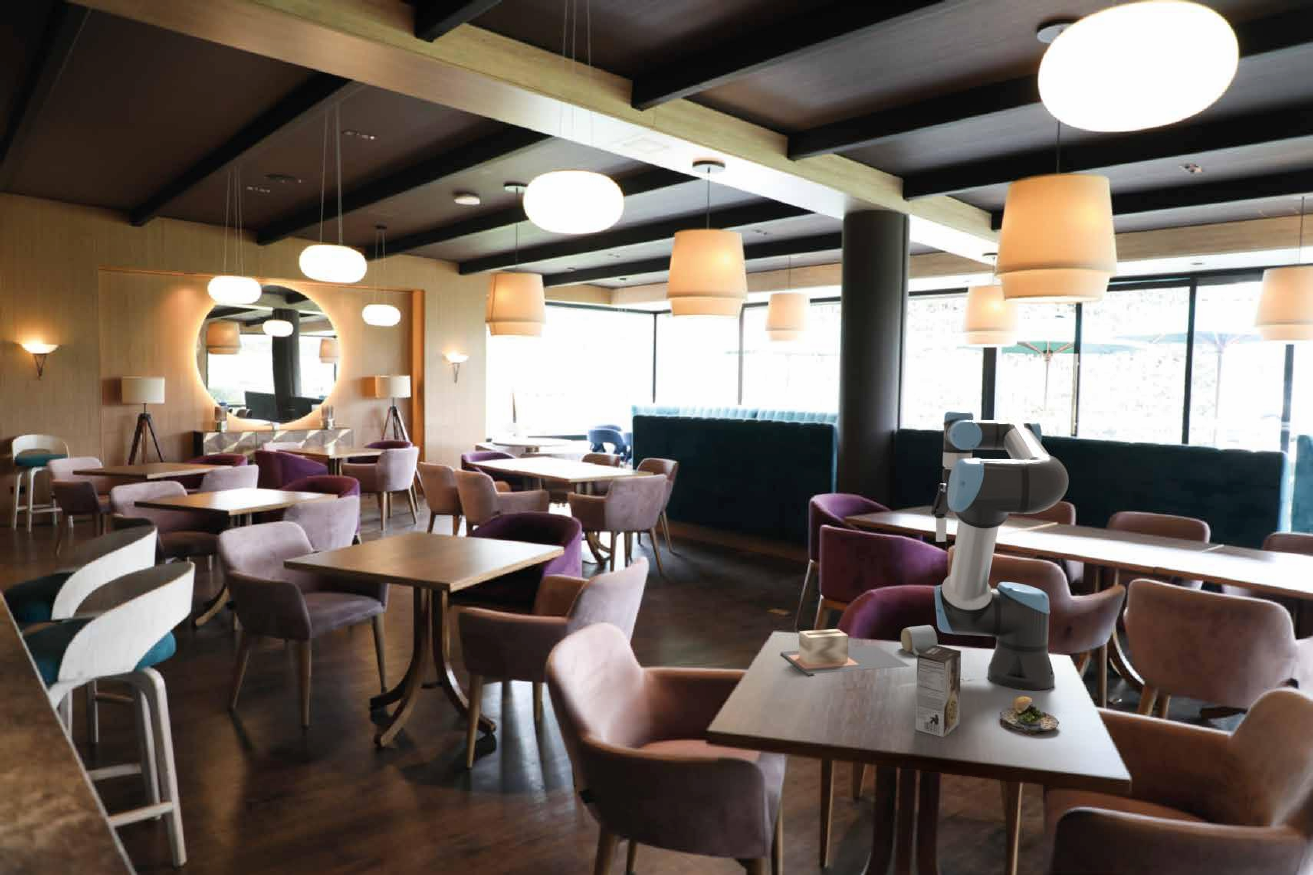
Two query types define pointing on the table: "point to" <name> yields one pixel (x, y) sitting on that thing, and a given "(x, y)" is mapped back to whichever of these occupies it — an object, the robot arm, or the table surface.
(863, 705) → the table surface
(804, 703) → the table surface
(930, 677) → the coffee box
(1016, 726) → the plate of food
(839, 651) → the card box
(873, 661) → the mat
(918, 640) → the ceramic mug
